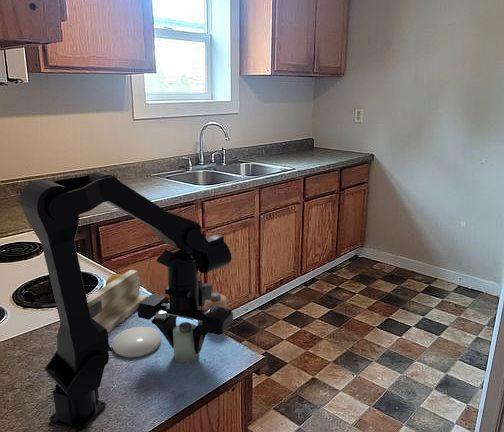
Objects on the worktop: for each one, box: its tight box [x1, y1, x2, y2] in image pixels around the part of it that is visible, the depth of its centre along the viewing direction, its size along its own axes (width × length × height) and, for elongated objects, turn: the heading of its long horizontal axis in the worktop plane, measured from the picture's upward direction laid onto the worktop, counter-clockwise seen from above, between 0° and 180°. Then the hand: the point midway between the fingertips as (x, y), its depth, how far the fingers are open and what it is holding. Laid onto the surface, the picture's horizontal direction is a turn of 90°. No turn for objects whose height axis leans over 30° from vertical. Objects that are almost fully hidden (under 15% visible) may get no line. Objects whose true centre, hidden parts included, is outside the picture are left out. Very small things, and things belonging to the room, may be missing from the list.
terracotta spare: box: [204, 292, 227, 311], centre depth 100 cm, size 5×5×7 cm
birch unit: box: [86, 269, 149, 333], centre depth 101 cm, size 22×5×8 cm, turn 159°
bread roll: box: [105, 273, 141, 288], centre depth 118 cm, size 8×9×4 cm
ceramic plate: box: [111, 326, 162, 358], centre depth 93 cm, size 10×10×1 cm
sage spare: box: [173, 321, 200, 364], centre depth 88 cm, size 5×5×7 cm
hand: (186, 350), depth 88 cm, fingers closed on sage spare, 5 cm apart
